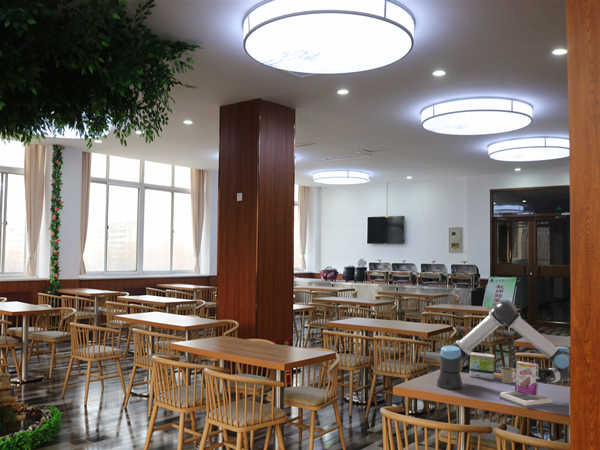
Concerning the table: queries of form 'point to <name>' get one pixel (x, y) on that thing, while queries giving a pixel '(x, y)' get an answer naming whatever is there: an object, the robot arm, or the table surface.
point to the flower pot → (507, 374)
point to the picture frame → (525, 399)
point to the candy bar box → (526, 377)
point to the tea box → (482, 365)
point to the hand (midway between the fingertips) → (521, 377)
